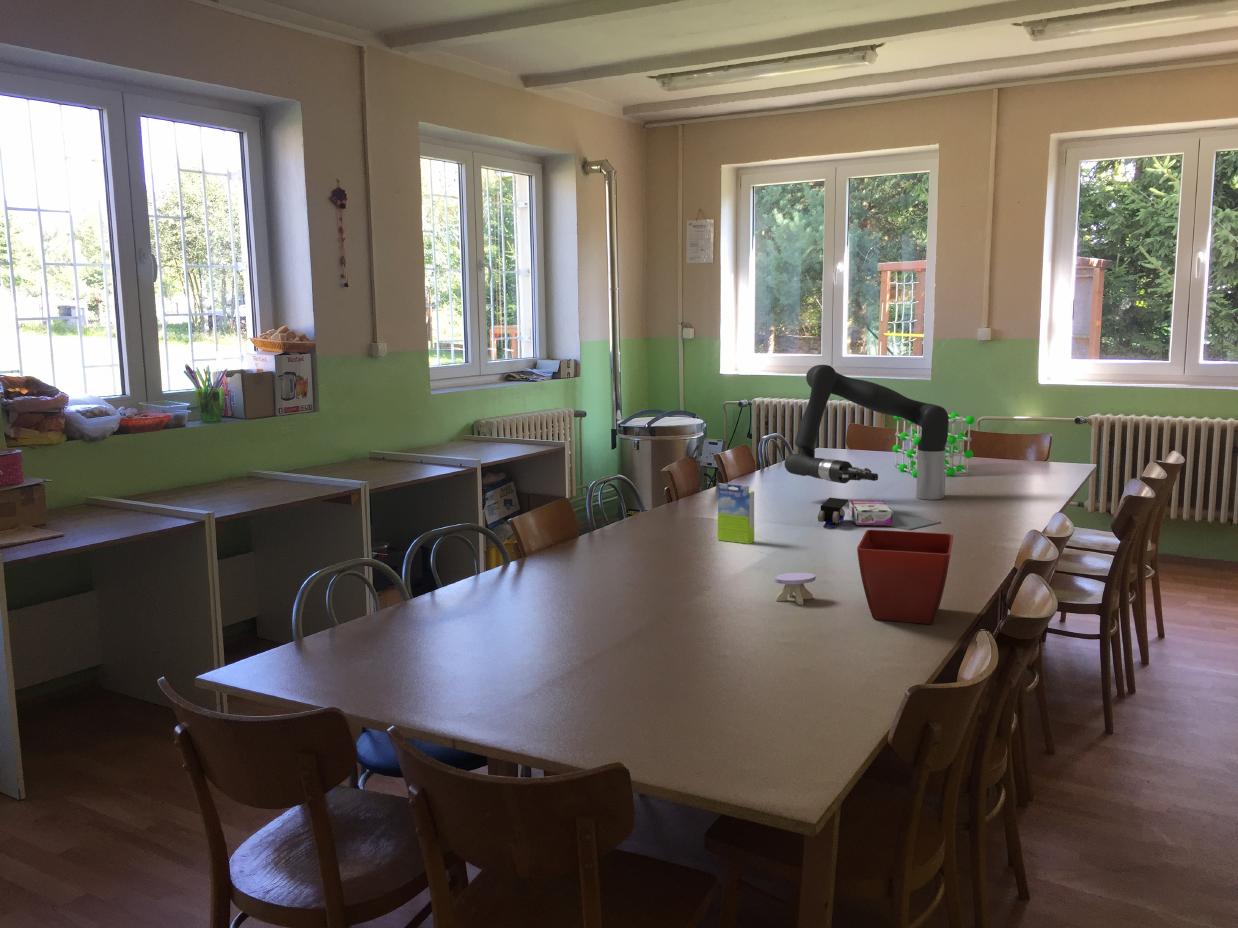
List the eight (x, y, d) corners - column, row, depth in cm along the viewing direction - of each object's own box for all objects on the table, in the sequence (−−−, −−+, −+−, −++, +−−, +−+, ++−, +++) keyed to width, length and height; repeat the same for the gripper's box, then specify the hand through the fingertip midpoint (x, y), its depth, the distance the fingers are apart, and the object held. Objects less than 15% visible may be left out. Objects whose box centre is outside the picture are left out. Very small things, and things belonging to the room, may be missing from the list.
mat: (894, 513, 321) (894, 512, 321) (940, 522, 307) (940, 521, 307) (862, 520, 312) (862, 519, 312) (908, 530, 298) (908, 528, 298)
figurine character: (838, 534, 300) (849, 519, 313) (838, 510, 298) (849, 496, 311) (816, 532, 303) (828, 517, 316) (816, 509, 301) (827, 495, 314)
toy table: (811, 593, 234) (811, 570, 233) (819, 605, 225) (820, 581, 224) (770, 594, 234) (771, 571, 233) (777, 605, 225) (777, 581, 224)
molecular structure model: (890, 468, 411) (892, 411, 408) (947, 466, 414) (949, 410, 410) (913, 478, 388) (915, 417, 384) (973, 476, 390) (976, 416, 386)
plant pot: (854, 622, 212) (856, 547, 209) (865, 598, 229) (867, 528, 227) (947, 631, 205) (950, 554, 202) (950, 605, 223) (953, 533, 220)
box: (755, 541, 286) (755, 483, 284) (749, 544, 283) (749, 486, 280) (722, 537, 292) (722, 481, 289) (716, 540, 288) (716, 483, 286)
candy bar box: (848, 514, 319) (855, 525, 303) (849, 499, 319) (856, 509, 302) (883, 515, 318) (892, 525, 302) (884, 500, 318) (893, 510, 301)
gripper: (822, 461, 325) (863, 468, 311) (848, 457, 333) (890, 463, 319) (821, 483, 326) (863, 491, 312) (847, 479, 334) (889, 486, 320)
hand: (876, 477), depth 316 cm, fingers closed
